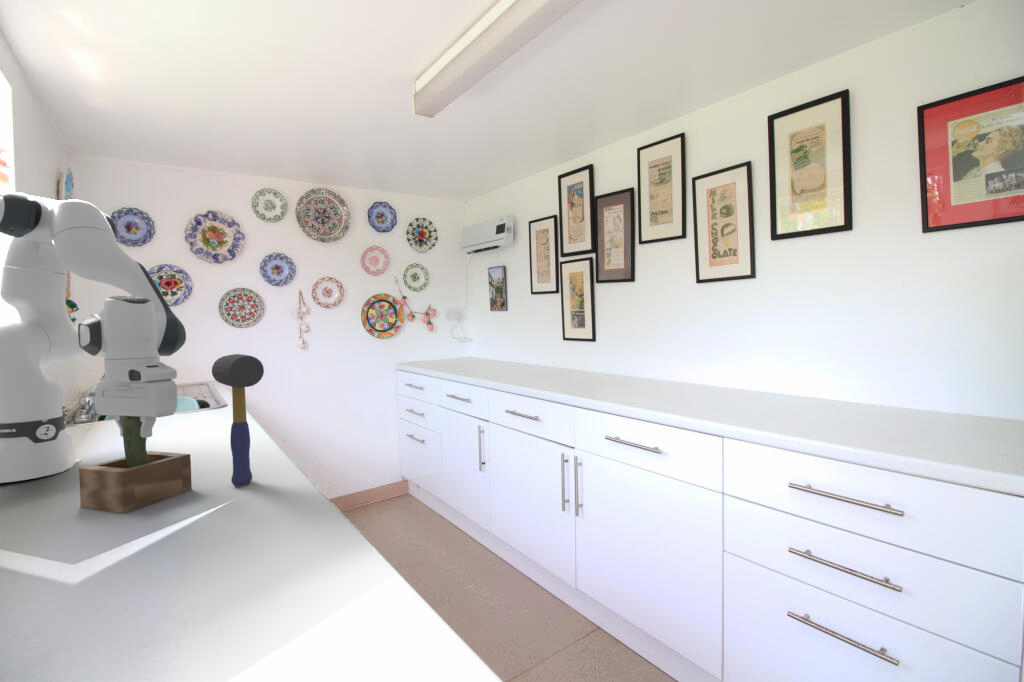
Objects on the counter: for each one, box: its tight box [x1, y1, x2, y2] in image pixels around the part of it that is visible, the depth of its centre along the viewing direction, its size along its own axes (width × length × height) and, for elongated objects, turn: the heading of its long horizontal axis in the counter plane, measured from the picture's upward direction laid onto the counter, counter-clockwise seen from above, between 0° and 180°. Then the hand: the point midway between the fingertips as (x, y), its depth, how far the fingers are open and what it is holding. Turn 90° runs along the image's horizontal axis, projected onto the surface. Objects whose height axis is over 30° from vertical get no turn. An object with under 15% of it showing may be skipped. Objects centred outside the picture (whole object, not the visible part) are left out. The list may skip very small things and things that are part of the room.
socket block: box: [78, 450, 193, 514], centre depth 91 cm, size 13×13×8 cm
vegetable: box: [122, 416, 149, 468], centre depth 91 cm, size 4×4×20 cm
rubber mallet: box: [211, 353, 265, 488], centre depth 97 cm, size 12×8×30 cm, turn 51°
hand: (136, 436), depth 91 cm, fingers closed on vegetable, 4 cm apart
